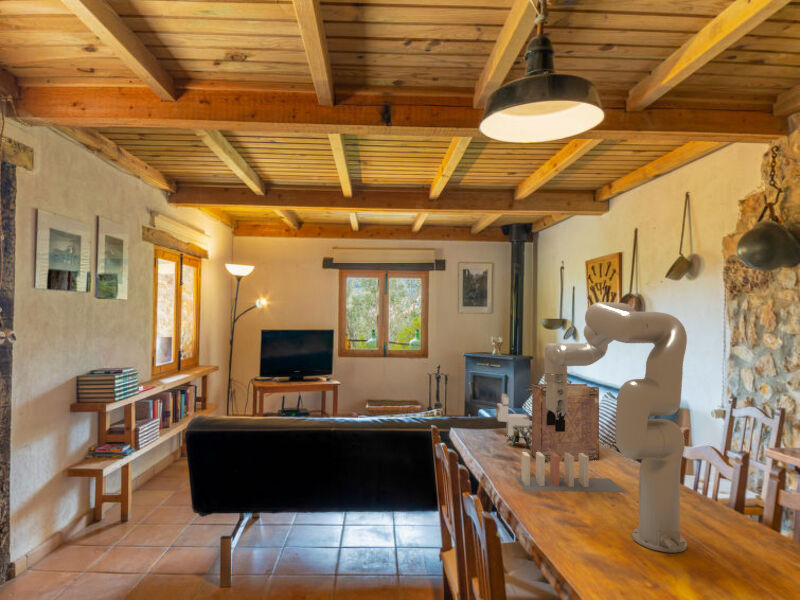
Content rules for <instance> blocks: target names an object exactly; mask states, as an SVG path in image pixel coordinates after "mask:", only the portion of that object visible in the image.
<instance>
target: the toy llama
mask: <svg viewBox="0 0 800 600" xmlns="http://www.w3.org/2000/svg"><path fill="white" fill-rule="evenodd" d="M509 398H510V397H509V395H508V393H505V392H504V393H503V392H502V393H501V402H496V405H495V406H496V409H495V410H496V411H495V416H496V417H495V418H496V421H497V422H499V423H500V422H502V423H503V422H504V423H506V424H505V425H506V427H505V430H506V431H505V432H507V434H508V436H514V429H515V425H517V427H520V428H521V429H522V430H524V432H527V431H528V430H527V428H529V429H530V428H532V420H530V416H529V415H528V414H525V413H509V403H510V402H509V401H510V399H509ZM527 435H528V436H529V437H530V433H529V432H528V433H527ZM508 436H507V437H508Z"/></svg>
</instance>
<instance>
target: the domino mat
mask: <svg viewBox="0 0 800 600" xmlns="http://www.w3.org/2000/svg"><path fill="white" fill-rule="evenodd" d="M515 478H516V480H517V482H518V483H519V485H521V487H522V488H523V490H524V491H533V492H534V491H537V492H538V491H541V492H543V491H544V492H586V493H587V492H588V493H592V492H593V493H627V490H625V488H622V487H621V486H620V485H619V484H618V483H617V482H615V481H613V480H612V479H611V478H609V477H607V478H604V477H603V478H601V477H599V478H598V477H589V487H583V486H582V485H581V484H580V483H579V482H578V481H579V477H574V487H569V486H568V485H567V484H566V483H565V482H564V477H560V476H559V486H554V485H553V484H552V483H551V482H550V476H545V486H539V484H538V483H537V482H536V476H530V486H525V485H524V483H523V482H522V481H521V480H522V476H515Z"/></svg>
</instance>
